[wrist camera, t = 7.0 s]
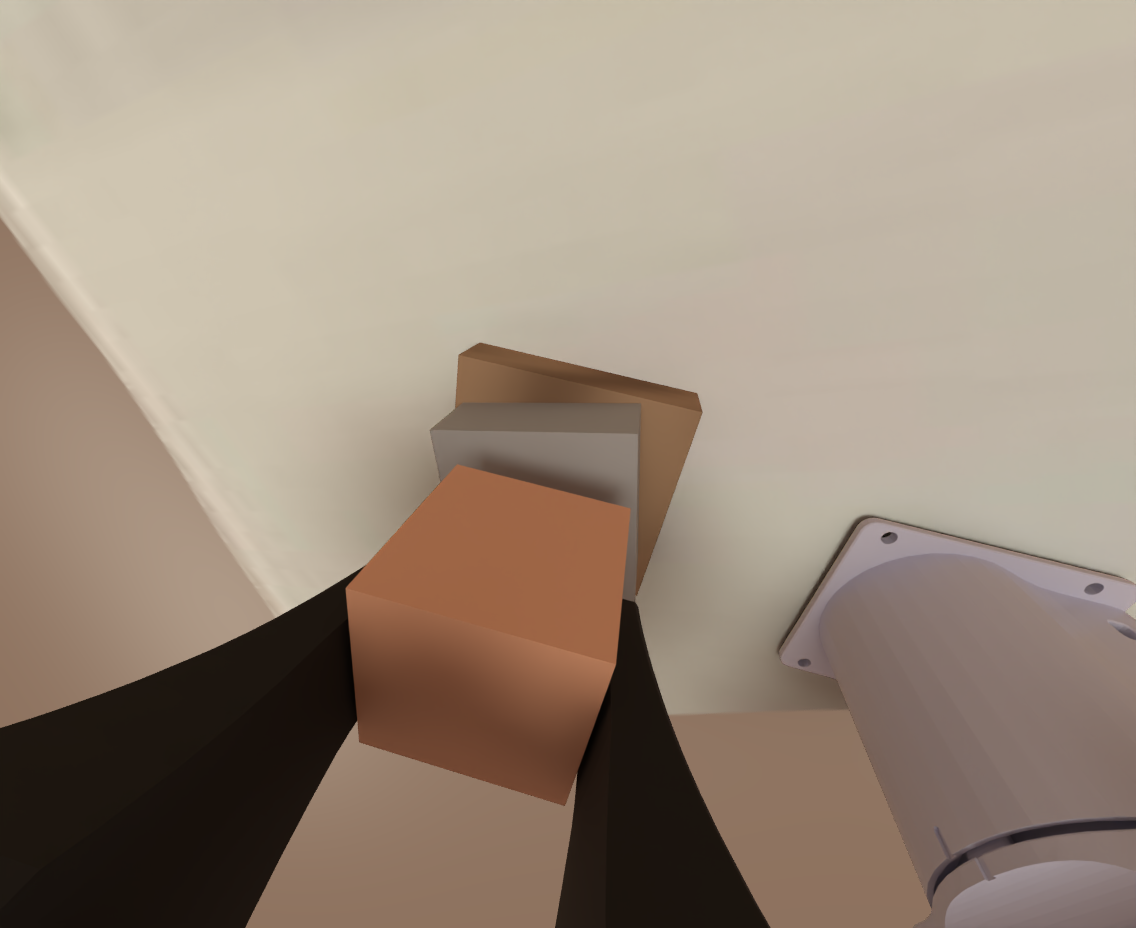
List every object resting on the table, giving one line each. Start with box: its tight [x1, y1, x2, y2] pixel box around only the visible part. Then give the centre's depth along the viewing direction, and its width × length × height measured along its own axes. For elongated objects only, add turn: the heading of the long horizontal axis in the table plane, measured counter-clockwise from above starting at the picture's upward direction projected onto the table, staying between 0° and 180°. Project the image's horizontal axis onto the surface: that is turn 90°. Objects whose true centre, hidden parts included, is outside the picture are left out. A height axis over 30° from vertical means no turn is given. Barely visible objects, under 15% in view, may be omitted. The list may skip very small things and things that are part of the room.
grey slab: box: [430, 403, 641, 602], centre depth 15 cm, size 6×6×2 cm
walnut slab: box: [455, 343, 702, 596], centre depth 17 cm, size 8×8×2 cm
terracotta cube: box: [346, 464, 631, 806], centre depth 10 cm, size 4×4×4 cm
